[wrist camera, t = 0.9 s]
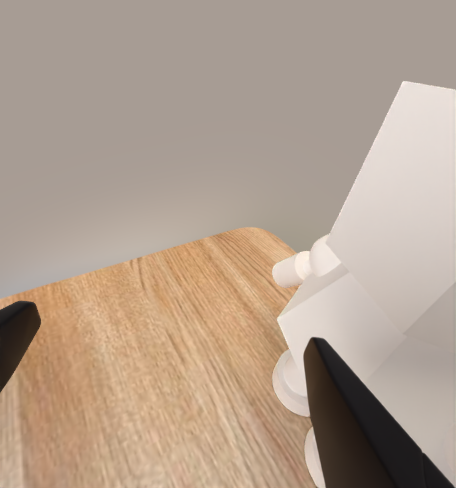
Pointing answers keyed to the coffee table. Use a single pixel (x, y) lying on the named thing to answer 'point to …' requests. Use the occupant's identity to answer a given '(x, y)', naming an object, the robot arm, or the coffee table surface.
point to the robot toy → (387, 280)
